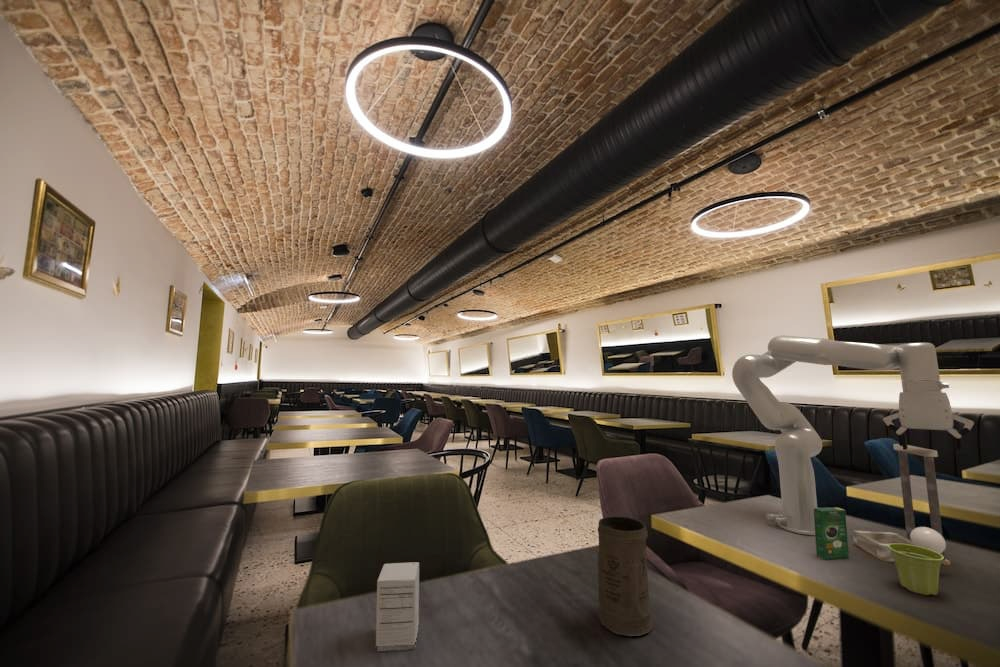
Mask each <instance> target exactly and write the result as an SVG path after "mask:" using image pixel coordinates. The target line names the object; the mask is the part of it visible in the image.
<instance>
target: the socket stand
mask: <svg viewBox="0 0 1000 667" xmlns="http://www.w3.org/2000/svg"><path fill="white" fill-rule="evenodd" d="M892 445H893V450H894V451H897V456H898V463H899V464H898V465H899V474H900V475H899V476H900V485H901V493H902V501H903V502H902V503H903V513H904V523H905V530H906V531H905V532H906V537H905V536H904V535H903V536H902V535H900V534H898V533H897V532H890V531H889V532H888V531H871V530H870V531H869V530H852V536H853V539H852V540H853V545H854V546H856V547H857V546H858V547H857V548H859V547H860V548H859V549H861V550H862V551H864V552H866V553H868V554H869V555H871V556H873V557H875V558H876V559H878V560H879V559H880V560H879V561H881V560H882V561H881V562H894V563H895V561H894V557H893V555H892V554H891V551H890V549H889V548H888V544H891V543H901V544H909V545H913V543H912V541H911V539H910V534H911V532H912V530H913V529H915V528H916V524H915V515H914V514H915V513H914V512H915V511H914V504H913V496H912V486H911V478H910V469H909V457H908V454H911V455H915V456H916V455H917V456H920V457H923V464H924V465H923V466H924V473H925V474H924V476H925V481H926V482H925V483H926V491H927V501H928V502H927V503H928V510H929V519H930V527H931V529H933V530H935V531H937V532H938V533H940V534H941V535H942V537H943V538H944V536H943V527H942V519H941V510H940V503H939V502H940V501H939V493H938V492H939V491H938V485H937V474H936V466H935V458H938V457H939V454H938V450H936V449H935V450H934V449H929V448H924V447H920V446H915V445H910V444H907V447H908V448H907V449H906V450H904V449H903V446H900V445H899V443H893V444H892ZM945 554H946V553H945V550H944V551H943V552H942V553H941V555H943V556H944V560H942V562H941V564H944V565H945V566H951V560H948V559H946V555H945Z"/></svg>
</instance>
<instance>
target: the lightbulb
mask: <svg viewBox="0 0 1000 667" xmlns="http://www.w3.org/2000/svg"><path fill="white" fill-rule="evenodd" d="M942 535H943V534H942ZM942 535H941V534H940V533H938V532H937V531H935V530H933V529H931V528H930V527H927V526H918V527H915V529H913V530H912V532H911V534H910V539H911V541H912V543H913V545H915V546H919V547H923V548H926V549H930V550H933V551H935V552H938V553H940V554H941V553H942V552H943V551H944V552H945V550H946V548H947V543H946V540H945V538H944V536H943V537H942Z"/></svg>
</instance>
